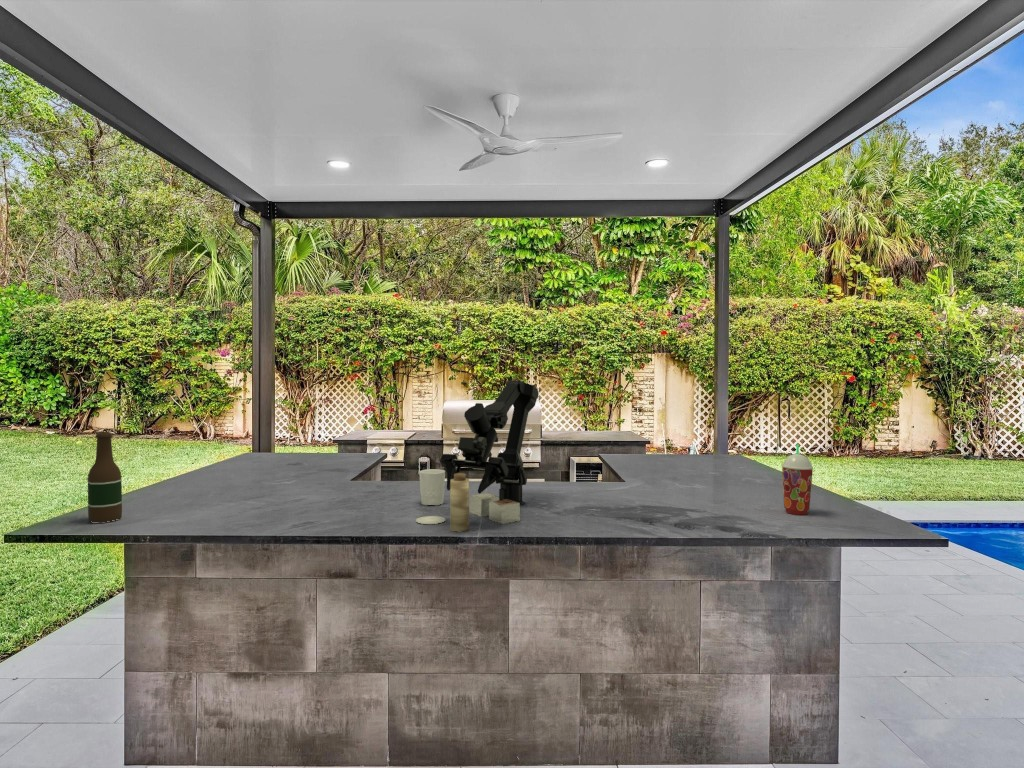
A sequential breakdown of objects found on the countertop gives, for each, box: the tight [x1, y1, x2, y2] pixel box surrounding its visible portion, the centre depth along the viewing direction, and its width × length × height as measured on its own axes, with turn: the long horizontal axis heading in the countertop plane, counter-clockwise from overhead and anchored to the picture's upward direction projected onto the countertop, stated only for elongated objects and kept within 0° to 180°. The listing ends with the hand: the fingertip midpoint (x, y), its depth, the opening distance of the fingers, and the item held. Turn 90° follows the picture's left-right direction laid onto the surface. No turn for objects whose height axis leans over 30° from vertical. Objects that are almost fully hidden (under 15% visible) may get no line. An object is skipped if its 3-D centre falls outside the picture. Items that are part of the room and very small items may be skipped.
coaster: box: [415, 515, 446, 525], centre depth 170 cm, size 8×8×1 cm
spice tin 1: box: [469, 492, 499, 518], centre depth 180 cm, size 6×6×5 cm
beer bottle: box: [87, 431, 123, 522], centre depth 170 cm, size 8×8×24 cm
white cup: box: [418, 468, 446, 506], centre depth 192 cm, size 8×8×10 cm
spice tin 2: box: [488, 499, 521, 525], centre depth 172 cm, size 6×6×5 cm
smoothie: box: [781, 444, 814, 516], centre depth 182 cm, size 8×8×20 cm
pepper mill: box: [449, 472, 470, 532], centre depth 162 cm, size 5×5×14 cm
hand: (463, 491), depth 163 cm, fingers open, 9 cm apart
